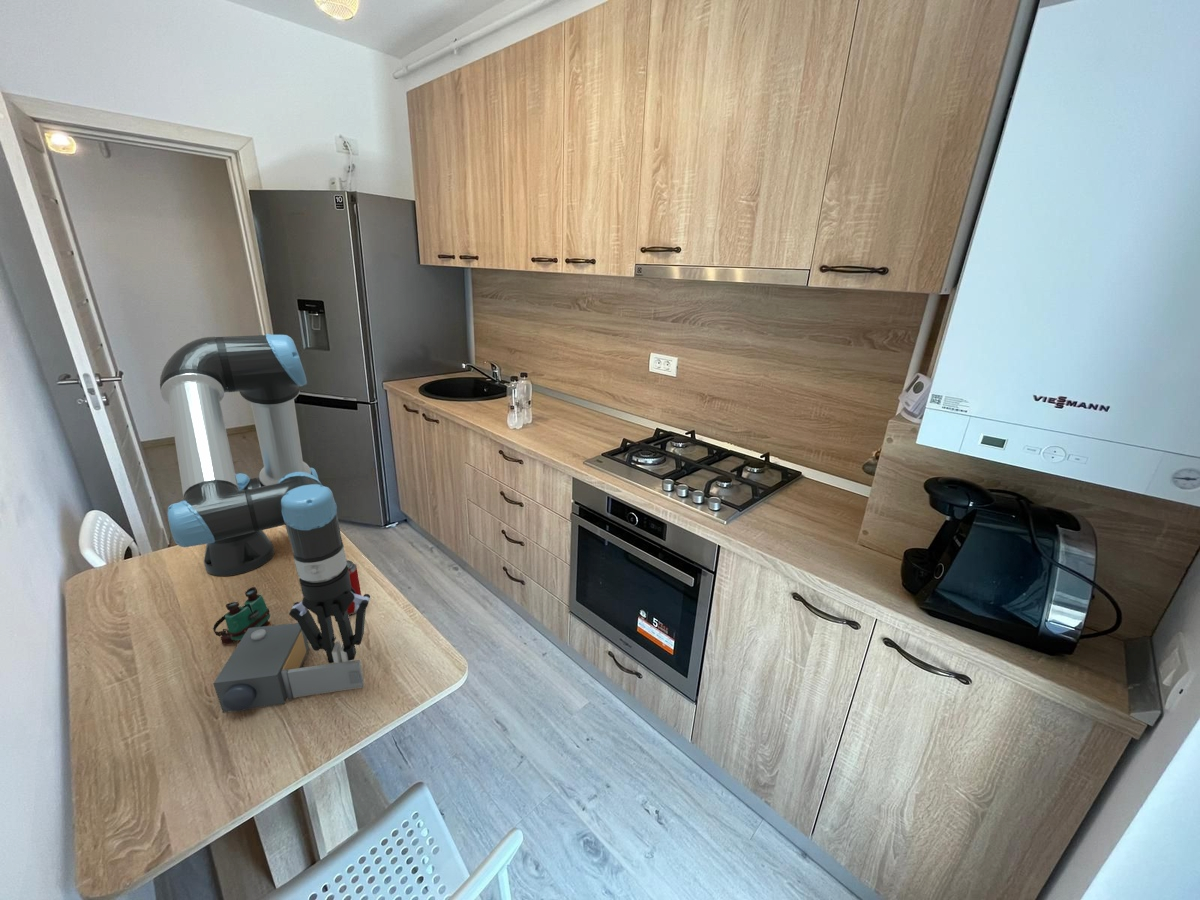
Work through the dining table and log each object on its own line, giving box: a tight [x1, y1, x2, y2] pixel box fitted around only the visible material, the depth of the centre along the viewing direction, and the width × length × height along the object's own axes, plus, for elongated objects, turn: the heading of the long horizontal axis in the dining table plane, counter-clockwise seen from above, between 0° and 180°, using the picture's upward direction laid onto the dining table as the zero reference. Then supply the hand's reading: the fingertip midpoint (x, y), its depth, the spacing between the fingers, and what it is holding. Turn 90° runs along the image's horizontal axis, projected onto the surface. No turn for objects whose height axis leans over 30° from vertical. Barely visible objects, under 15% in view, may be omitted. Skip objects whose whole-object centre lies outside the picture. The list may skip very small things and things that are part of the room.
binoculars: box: [212, 586, 272, 645], centre depth 103 cm, size 9×11×10 cm
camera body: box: [213, 622, 310, 714], centre depth 92 cm, size 16×10×8 cm, turn 13°
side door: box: [281, 659, 365, 701], centre depth 90 cm, size 13×2×7 cm, turn 104°
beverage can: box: [346, 559, 362, 616], centre depth 112 cm, size 6×6×12 cm
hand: (345, 671), depth 93 cm, fingers closed, pressing on side door
